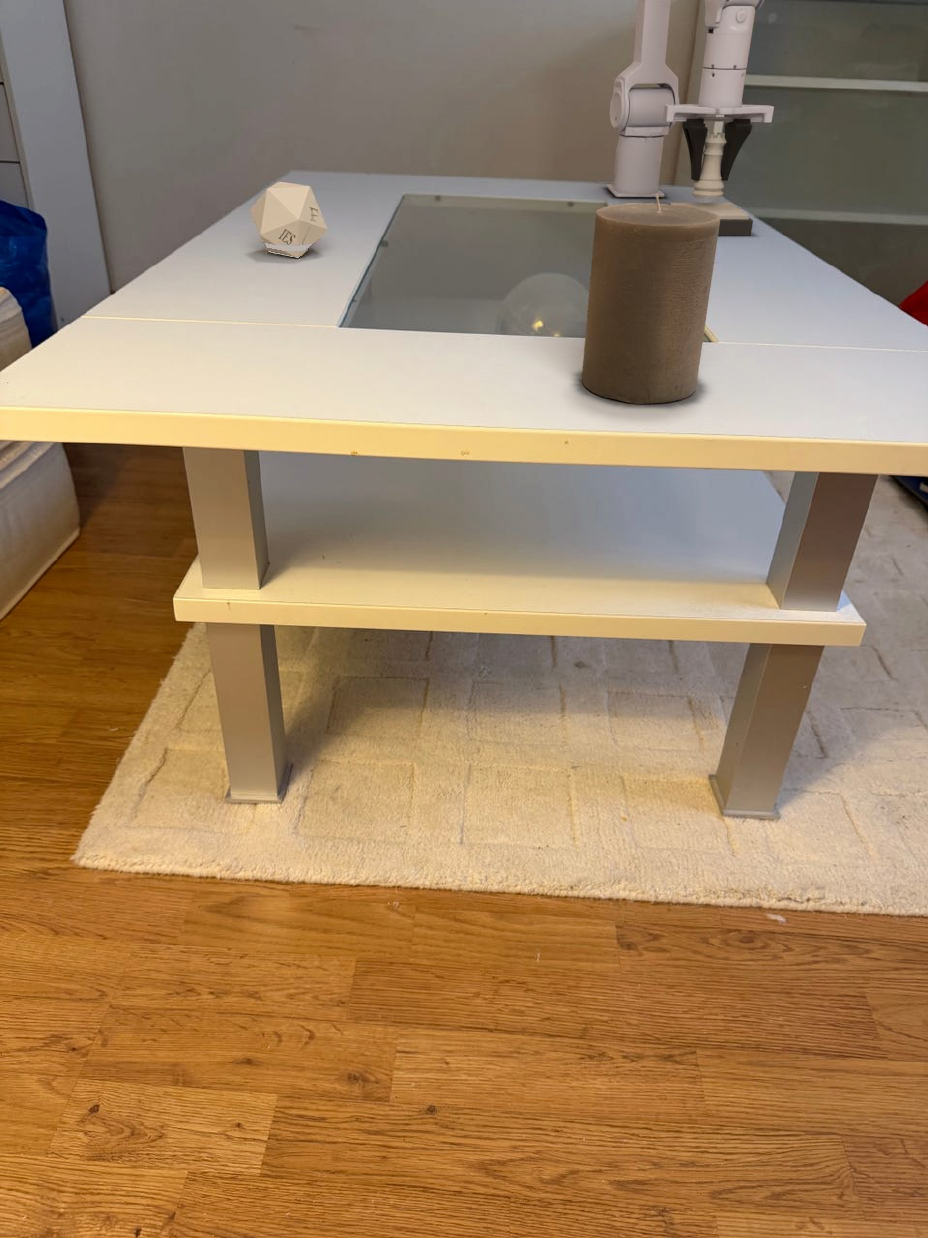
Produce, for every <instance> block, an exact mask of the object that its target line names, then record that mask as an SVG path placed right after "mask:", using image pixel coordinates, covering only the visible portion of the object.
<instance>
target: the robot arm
mask: <svg viewBox="0 0 928 1238" xmlns="http://www.w3.org/2000/svg"><path fill="white" fill-rule="evenodd" d="M764 2H765V0H704V6H705V7H704V8H705V13H704V27H706V28H707V31H706V40H705V47H704V54H703V61H702V62H703V63H702V70H701V76H700V77H701V78H700V85H699V94H698V100H697V103H685V104H683V103H681V104H680V97H679V77H678V76H677V75H676V74H675V73H674V72H673V71H672V69H671V68H669V66H668V65H667V64H666V61H667V49H668V37H669V25H670V15H671V14H670V13H671V3H672V1H671V0H637V4H636V5H637V6H636V17H635V18H636V19H635V20H636V21H635V33H634V34H635V35H634V49H633V61H632V63H630V65H629V66H628V67H626V68H625V69H624V70H623V71H621V73H619V74H618V76H616V78H614V82H613V91H612V95H611V98H610V103H609V121H610V125H611V126H612V128H613V130H614V131H615V133H616V134H618V140H617V141H618V142H617V145H616V147H615V157H614V168H613V179H612V184H609V183H608V184H606V188H607V189H608V190H609V191H610V192H611V193H612V194H613V195H614V197H616V198H656V195H658V198H665V193H664V192H663V191H661V190H660V189H659V187H660V178H661V177H660V176H661V168H662V160H663V159H662V158H663V150H664V141H665V136H669V134H670V133H669V131H671V130H672V129H673V128H674V126H675V124H676V123H677V122H681V127H682V131H683V134H684V137H685V141H686V145H687V148H688V149H687V150H688V154H689V162H690V163H689V164H690V179H691V180H693V181H694V182H695V181H699V179H700V174H701V167H702V164H703V152H704V150H705V145H704V144H705V140H706V135H707V133H708V131H709V128H708V127H707V126H706V123H705V122H712V123H713V122H714V123H715V122H719V123H723V122H725V124H724V132H723V133H724V134H725V139H726V141H727V142H726V144H725V145H724V146H723V148H722V152H723V155H722V156H721V165H720V173H721V177H722V179H721V180H722V182H728V180H729V177H730V173H731V171H732V168H733V167H734V166H733V165H734V163H735V162H736V159H737V156H738V154H739V153H740V150H741V149H742V147H743V145H744V144H745V142H746V141H747V139H748V138H749V136H750V134H751V133H752V129H753V124H752V123H766V124H767V123H769V124H770V123H772V121H773V116H774V112H775V111H774V109H775V106H772V105H766V104H765V105H764V104H742V102H743V95H744V89H745V82H746V74H747V69H748V63H749V62H748V61H749V56H750V49H751V42H752V36H753V29H754V24H755V23H754V22H755V15H756V12H758V11H759V10H760V8H761V7H762V6H763V4H764ZM638 84H639V85H642V84H643V85H647V84H649V85H650V84H654V85H658V86H659V87H658V86H657V87H654V86H651V87H650V86H649V87H634V86H635V85H638ZM707 115H715V116H707ZM716 115H717V116H716ZM718 115H719V116H718ZM720 115H722V116H720ZM727 115H728V116H727Z"/></svg>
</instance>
